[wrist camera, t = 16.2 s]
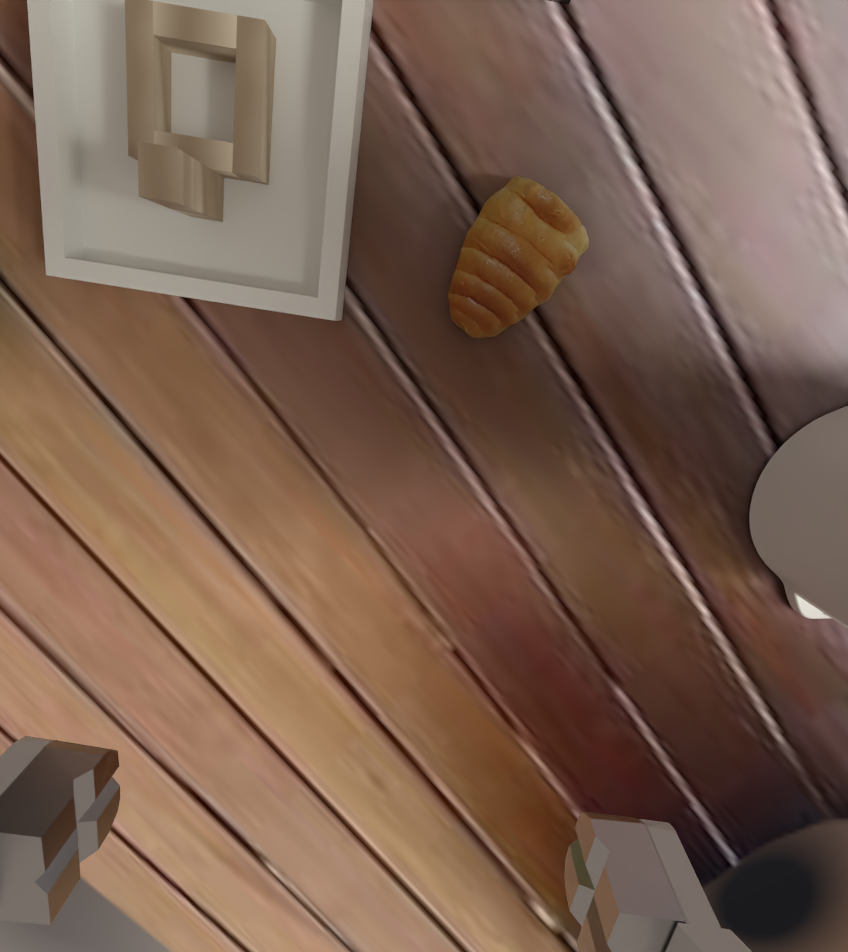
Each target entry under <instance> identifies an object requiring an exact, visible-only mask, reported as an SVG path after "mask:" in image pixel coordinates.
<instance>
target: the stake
mask: <svg viewBox="0 0 848 952" xmlns="http://www.w3.org/2000/svg"><path fill="white" fill-rule="evenodd" d="M550 1H556V2H562V3H567V4H569V3H570V0H550Z"/></svg>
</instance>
